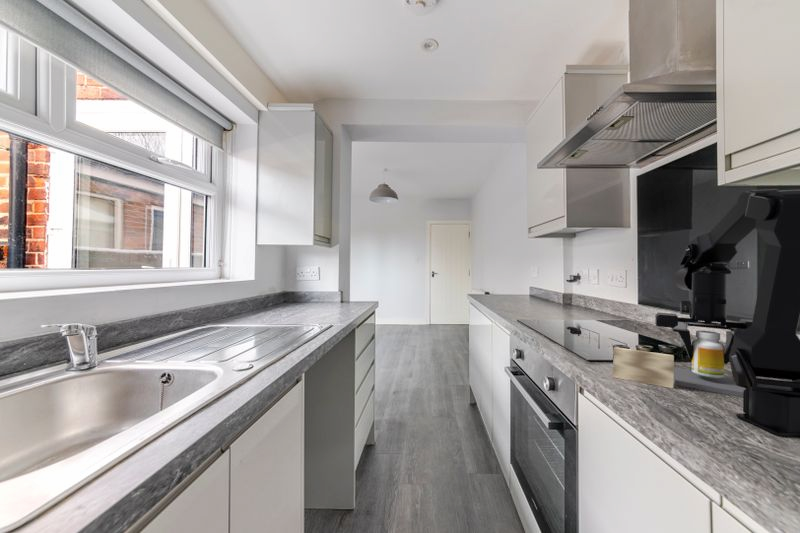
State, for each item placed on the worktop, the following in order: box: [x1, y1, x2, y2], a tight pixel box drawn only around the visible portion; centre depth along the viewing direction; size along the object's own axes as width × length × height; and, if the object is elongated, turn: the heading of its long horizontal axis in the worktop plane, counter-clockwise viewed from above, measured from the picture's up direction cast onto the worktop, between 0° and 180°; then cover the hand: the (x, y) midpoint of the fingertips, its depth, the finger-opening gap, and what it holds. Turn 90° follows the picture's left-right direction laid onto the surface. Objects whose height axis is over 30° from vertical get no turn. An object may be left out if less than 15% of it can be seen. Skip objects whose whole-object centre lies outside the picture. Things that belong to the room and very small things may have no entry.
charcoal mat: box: [673, 367, 746, 398], centre depth 72 cm, size 12×12×1 cm
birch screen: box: [612, 346, 675, 389], centre depth 73 cm, size 11×2×7 cm, turn 53°
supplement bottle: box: [691, 330, 725, 378], centre depth 72 cm, size 5×5×10 cm
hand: (707, 361), depth 72 cm, fingers closed on supplement bottle, 5 cm apart
